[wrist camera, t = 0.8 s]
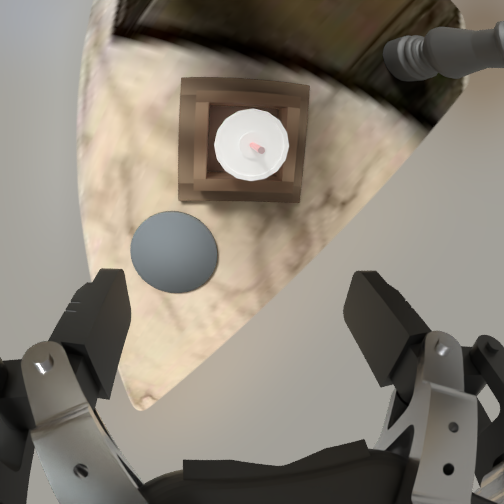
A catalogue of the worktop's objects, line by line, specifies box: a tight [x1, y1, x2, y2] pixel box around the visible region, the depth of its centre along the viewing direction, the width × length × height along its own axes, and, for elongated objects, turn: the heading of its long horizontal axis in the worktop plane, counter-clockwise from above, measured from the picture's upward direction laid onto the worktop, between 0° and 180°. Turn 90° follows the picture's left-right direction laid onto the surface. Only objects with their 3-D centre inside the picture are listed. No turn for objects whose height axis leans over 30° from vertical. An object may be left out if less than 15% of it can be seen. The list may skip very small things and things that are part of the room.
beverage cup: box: [214, 108, 289, 181], centre depth 24 cm, size 6×6×14 cm
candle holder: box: [383, 21, 504, 81], centre depth 16 cm, size 6×6×25 cm
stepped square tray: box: [178, 77, 310, 203], centre depth 28 cm, size 14×14×4 cm
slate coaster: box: [130, 211, 217, 293], centre depth 35 cm, size 11×11×1 cm
